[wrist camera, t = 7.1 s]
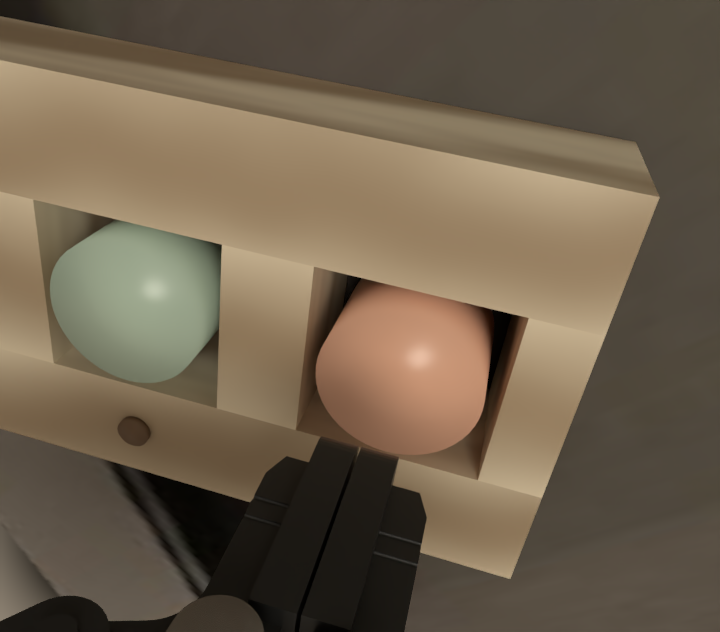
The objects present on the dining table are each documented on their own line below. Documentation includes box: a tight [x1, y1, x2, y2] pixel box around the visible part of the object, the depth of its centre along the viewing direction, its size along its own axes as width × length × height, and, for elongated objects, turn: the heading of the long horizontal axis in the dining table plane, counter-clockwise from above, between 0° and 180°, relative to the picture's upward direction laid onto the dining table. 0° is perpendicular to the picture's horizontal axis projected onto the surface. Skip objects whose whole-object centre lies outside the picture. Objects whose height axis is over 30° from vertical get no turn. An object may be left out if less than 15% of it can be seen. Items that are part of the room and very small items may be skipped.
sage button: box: [50, 219, 222, 383], centre depth 18 cm, size 4×4×3 cm
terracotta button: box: [316, 278, 495, 455], centre depth 17 cm, size 4×4×3 cm
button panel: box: [0, 16, 659, 579], centre depth 18 cm, size 11×22×4 cm, turn 82°
